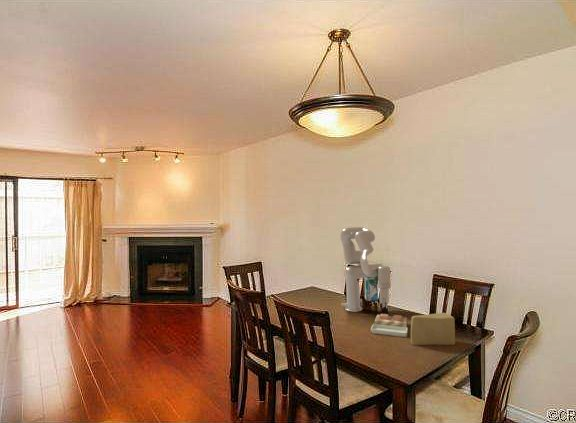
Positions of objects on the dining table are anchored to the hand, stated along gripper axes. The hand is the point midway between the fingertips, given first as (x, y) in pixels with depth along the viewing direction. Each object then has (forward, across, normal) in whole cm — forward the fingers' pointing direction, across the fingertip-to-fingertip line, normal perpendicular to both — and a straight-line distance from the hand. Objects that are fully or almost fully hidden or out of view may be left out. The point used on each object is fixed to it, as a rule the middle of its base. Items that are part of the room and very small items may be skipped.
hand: (385, 314), depth 210 cm
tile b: (+1, +5, +8) cm, 10 cm away
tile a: (+1, +5, 0) cm, 5 cm away
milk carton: (+6, -55, -17) cm, 58 cm away
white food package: (+6, +5, +4) cm, 9 cm away
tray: (+6, +16, +4) cm, 18 cm away
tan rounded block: (+6, +26, +26) cm, 37 cm away
